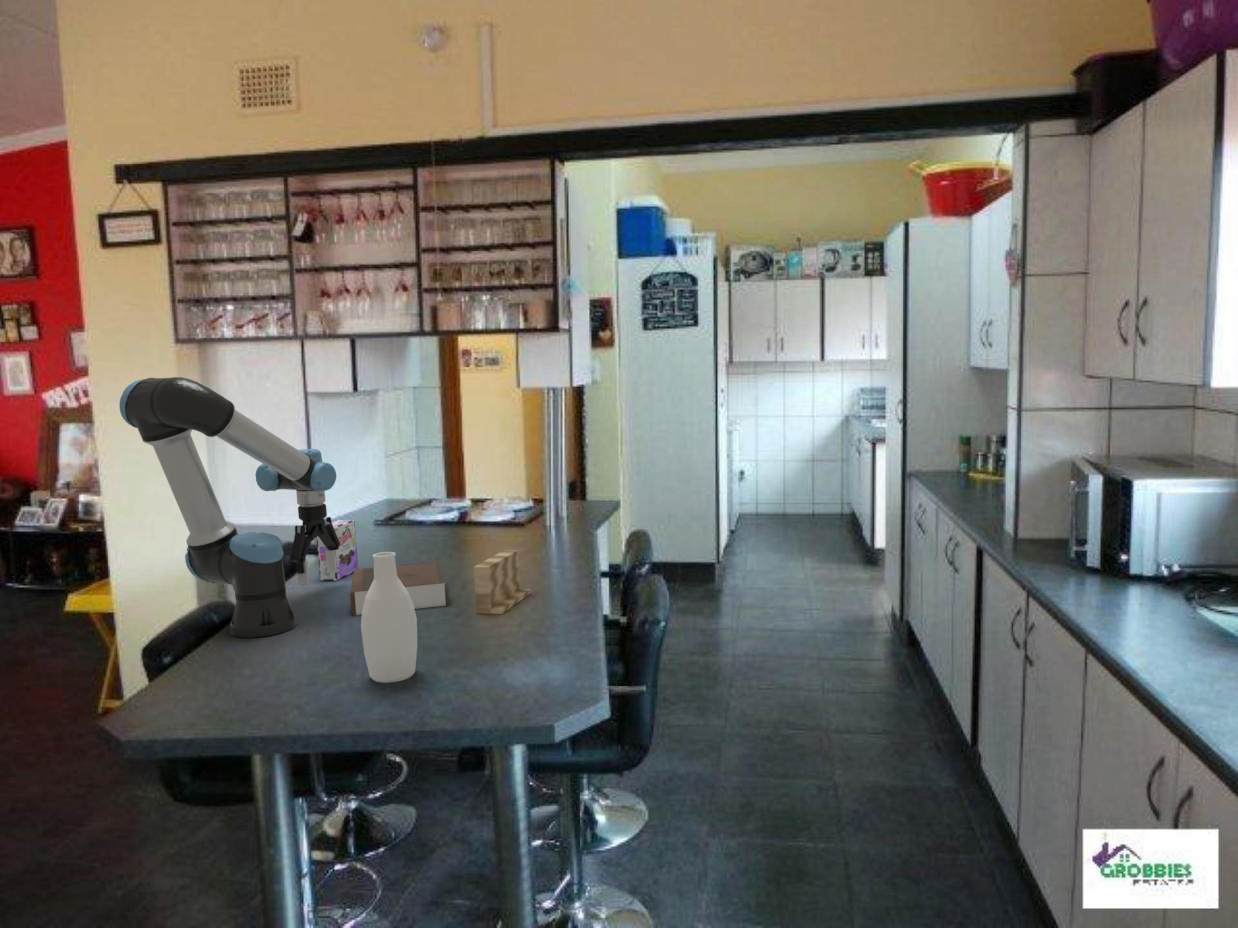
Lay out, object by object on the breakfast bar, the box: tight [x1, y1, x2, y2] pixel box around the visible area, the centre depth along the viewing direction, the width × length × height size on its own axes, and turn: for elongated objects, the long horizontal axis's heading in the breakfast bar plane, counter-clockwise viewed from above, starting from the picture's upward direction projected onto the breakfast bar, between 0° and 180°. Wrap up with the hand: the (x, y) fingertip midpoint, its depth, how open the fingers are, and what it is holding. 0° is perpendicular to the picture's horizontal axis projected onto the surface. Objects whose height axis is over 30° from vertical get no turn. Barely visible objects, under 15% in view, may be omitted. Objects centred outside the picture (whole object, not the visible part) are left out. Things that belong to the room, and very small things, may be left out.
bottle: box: [360, 551, 418, 684], centre depth 182 cm, size 11×11×25 cm
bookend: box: [473, 549, 532, 615], centre depth 235 cm, size 20×7×12 cm, turn 164°
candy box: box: [316, 519, 359, 582], centre depth 274 cm, size 14×6×16 cm, turn 168°
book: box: [349, 560, 447, 617], centre depth 246 cm, size 24×28×6 cm
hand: (318, 578), depth 253 cm, fingers open, 13 cm apart
